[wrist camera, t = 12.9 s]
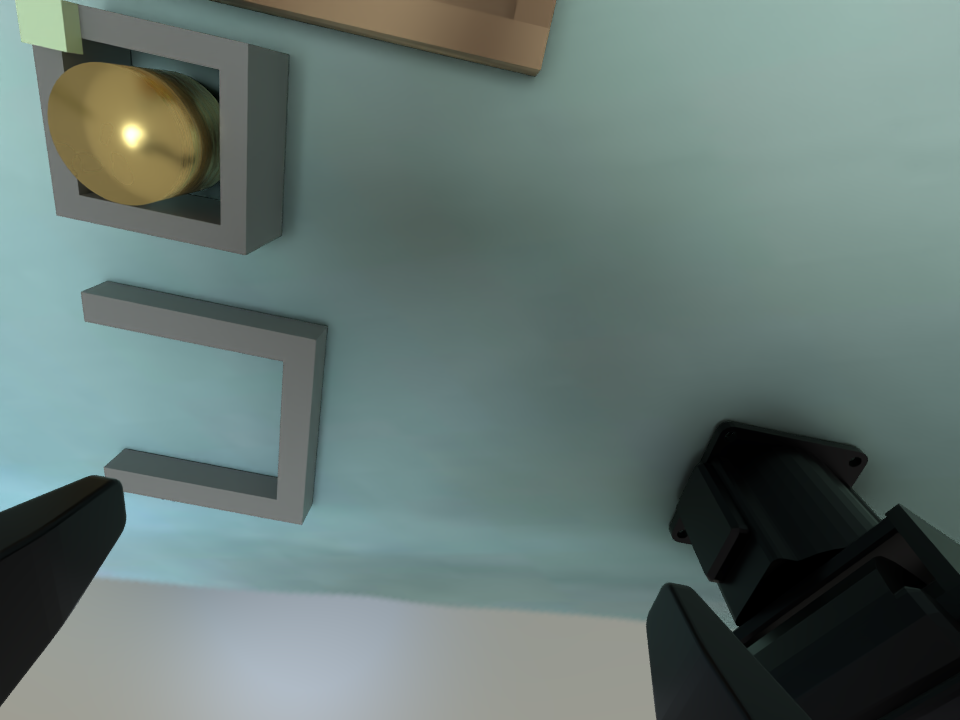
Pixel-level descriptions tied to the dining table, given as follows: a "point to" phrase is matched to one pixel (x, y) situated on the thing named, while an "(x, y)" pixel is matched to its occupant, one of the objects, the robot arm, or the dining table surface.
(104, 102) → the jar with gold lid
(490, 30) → the brown wooden tray
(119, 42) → the grey angular frames
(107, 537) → the robot arm
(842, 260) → the dining table surface
